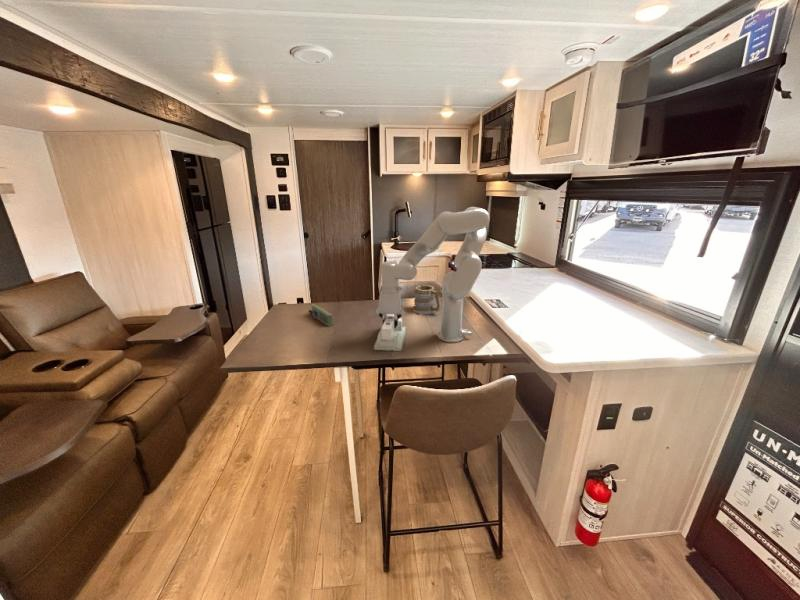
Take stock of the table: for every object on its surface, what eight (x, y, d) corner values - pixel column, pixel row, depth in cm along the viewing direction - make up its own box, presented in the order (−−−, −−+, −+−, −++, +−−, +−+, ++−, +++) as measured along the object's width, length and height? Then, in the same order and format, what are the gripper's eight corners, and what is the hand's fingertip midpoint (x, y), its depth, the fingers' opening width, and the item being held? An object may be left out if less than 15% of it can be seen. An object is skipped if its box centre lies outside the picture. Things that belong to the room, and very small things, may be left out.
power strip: (397, 317, 155) (397, 308, 153) (391, 339, 133) (391, 328, 131) (389, 317, 156) (389, 307, 154) (381, 339, 133) (381, 328, 131)
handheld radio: (328, 327, 159) (306, 313, 177) (334, 326, 161) (312, 312, 179) (327, 315, 157) (306, 302, 175) (333, 314, 159) (311, 301, 177)
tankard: (408, 310, 180) (408, 285, 175) (423, 305, 188) (424, 281, 183) (434, 320, 166) (435, 294, 161) (449, 314, 174) (451, 288, 169)
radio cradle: (405, 329, 156) (405, 317, 154) (401, 351, 135) (401, 337, 133) (382, 328, 157) (381, 316, 155) (374, 349, 137) (373, 336, 134)
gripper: (409, 287, 141) (409, 324, 147) (373, 286, 142) (374, 322, 148) (408, 292, 134) (407, 331, 140) (369, 291, 135) (371, 329, 141)
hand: (390, 326), depth 144 cm, fingers closed on power strip, 4 cm apart
